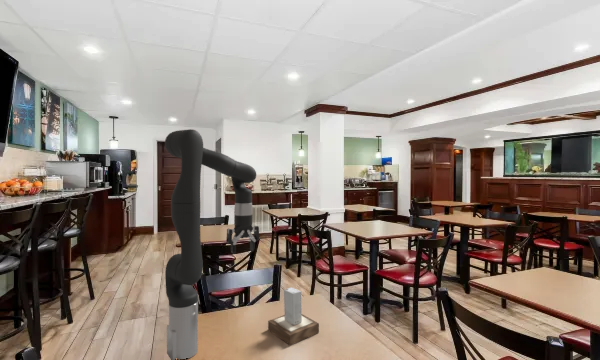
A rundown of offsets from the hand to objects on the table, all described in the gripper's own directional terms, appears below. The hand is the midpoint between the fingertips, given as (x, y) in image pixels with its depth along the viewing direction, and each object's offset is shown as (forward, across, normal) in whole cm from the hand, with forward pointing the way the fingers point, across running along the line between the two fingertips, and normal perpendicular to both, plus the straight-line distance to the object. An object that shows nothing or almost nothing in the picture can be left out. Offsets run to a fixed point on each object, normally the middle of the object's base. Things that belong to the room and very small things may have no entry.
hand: (243, 252), depth 129 cm
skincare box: (+24, +10, -22) cm, 34 cm away
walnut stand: (+28, +10, -22) cm, 37 cm away
